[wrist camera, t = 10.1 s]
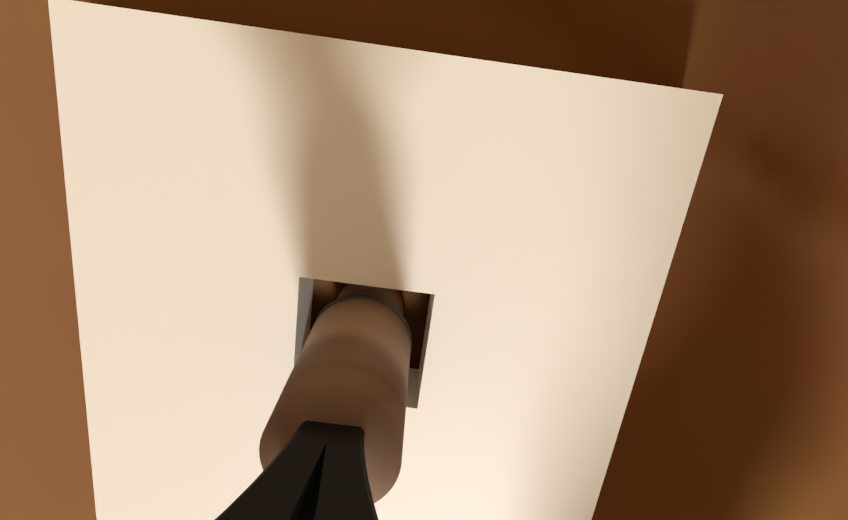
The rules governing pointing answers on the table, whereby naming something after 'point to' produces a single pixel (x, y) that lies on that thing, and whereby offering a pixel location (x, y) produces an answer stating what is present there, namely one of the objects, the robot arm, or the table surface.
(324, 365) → the walnut peg
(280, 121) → the cream board
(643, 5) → the table surface
